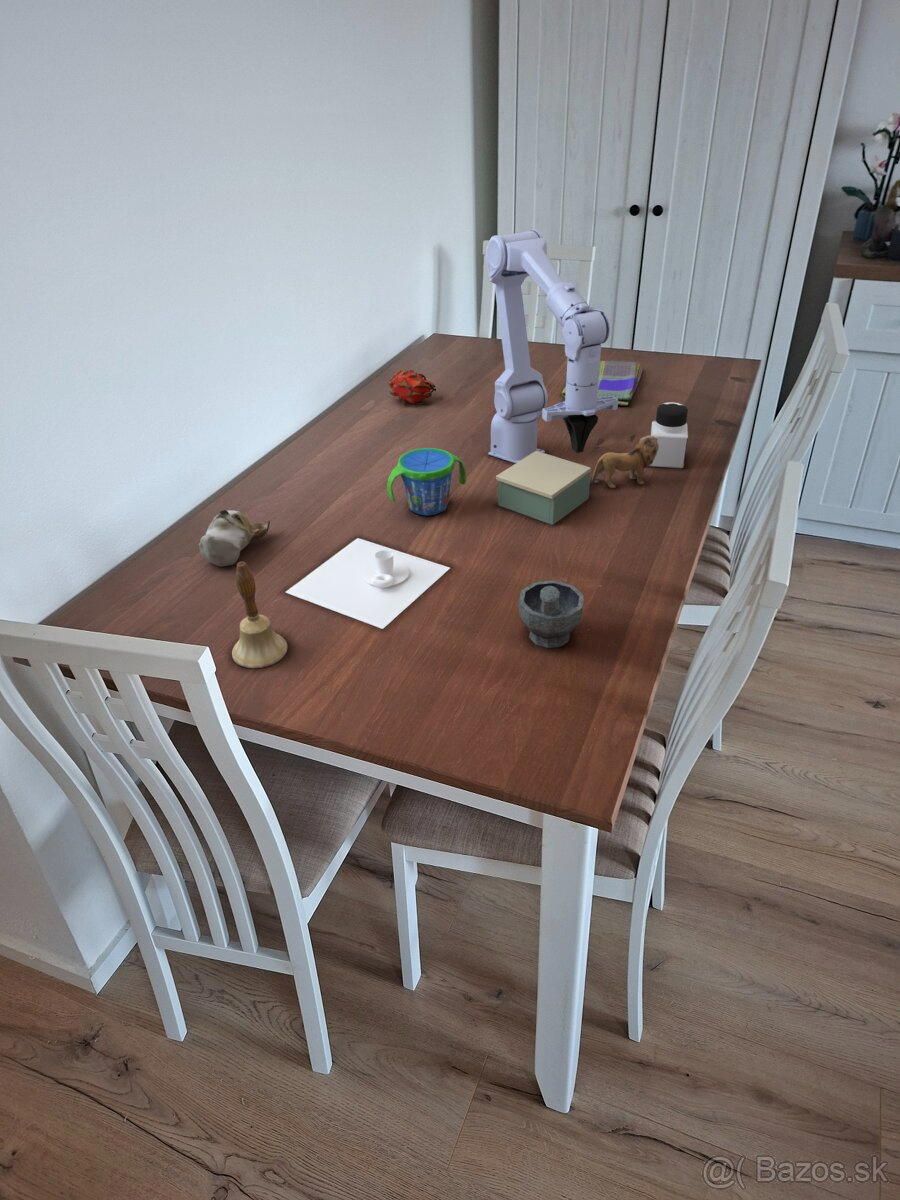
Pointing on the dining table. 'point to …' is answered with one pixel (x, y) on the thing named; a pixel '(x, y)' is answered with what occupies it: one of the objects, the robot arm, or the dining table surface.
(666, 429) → the medicine bottle
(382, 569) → the teacup and saucer
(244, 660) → the hand bell
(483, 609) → the dining table surface
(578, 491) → the box
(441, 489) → the snack cup
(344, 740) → the dining table surface
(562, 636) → the mortar and pestle
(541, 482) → the lid
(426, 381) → the dragon fruit
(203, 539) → the ceramic sculpture
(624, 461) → the lion figurine
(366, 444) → the dining table surface
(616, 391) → the dish towel
